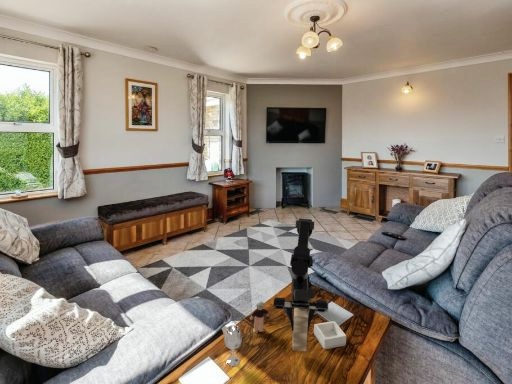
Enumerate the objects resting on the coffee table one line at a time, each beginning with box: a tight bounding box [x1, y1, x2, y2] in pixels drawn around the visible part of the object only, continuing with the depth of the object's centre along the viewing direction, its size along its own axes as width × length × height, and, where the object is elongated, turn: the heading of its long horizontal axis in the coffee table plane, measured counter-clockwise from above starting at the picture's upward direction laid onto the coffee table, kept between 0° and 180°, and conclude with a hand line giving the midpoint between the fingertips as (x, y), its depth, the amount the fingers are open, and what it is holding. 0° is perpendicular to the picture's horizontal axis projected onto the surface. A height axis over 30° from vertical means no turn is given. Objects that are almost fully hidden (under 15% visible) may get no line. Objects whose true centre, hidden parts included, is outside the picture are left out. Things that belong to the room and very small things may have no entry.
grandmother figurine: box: [249, 300, 270, 334], centre depth 111 cm, size 8×4×13 cm, turn 117°
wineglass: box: [224, 324, 243, 367], centre depth 95 cm, size 6×6×12 cm
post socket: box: [313, 320, 347, 350], centre depth 107 cm, size 9×9×4 cm
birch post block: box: [292, 307, 309, 352], centre depth 98 cm, size 4×4×13 cm
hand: (300, 331), depth 96 cm, fingers closed on birch post block, 4 cm apart
